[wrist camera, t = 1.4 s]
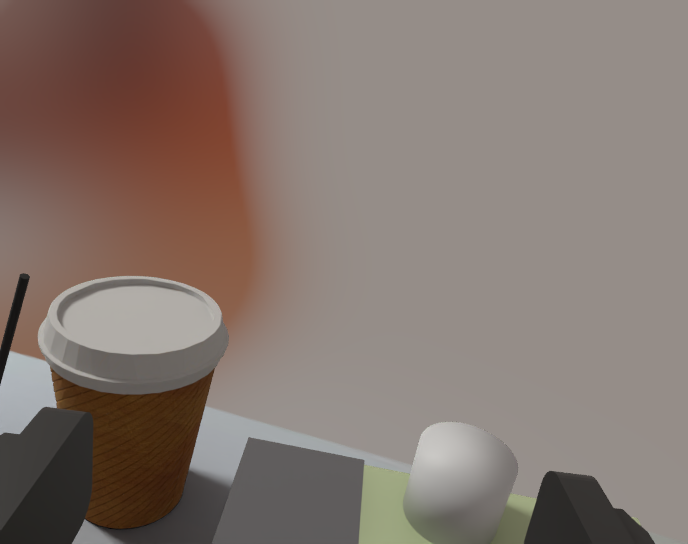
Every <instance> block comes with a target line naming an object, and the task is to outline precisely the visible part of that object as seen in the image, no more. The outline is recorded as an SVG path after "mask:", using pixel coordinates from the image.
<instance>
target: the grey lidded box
mask: <svg viewBox="0 0 688 544" xmlns="http://www.w3.org/2000/svg"><path fill="white" fill-rule="evenodd" d="M363 473H364V460H361V459H356V458H351V457H346V456H341V455H336V454H331V453H326V452H321V451H316V450H310V449H305V448H300V447H295V446H290V445H285V444H280V443H275V442H270V441H265V440H260V439H254V438H248V441H247V444H246V447H245V450H244V452H243V455H242V458H241V461H240V464H239V467H238V470H237V472H236V475H235V478H234V481H233V484H232V487H231V490H230V492H229V495H228V498H227V501H226V504H225V507H224V510H223V512H222V515H221V518H220V521H219V524H218V527H217V530H216V532H215V535H214V538H213V541H212V544H359V530H360V516H361V502H362V488H363Z"/></svg>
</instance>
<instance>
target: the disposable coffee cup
mask: <svg viewBox="0 0 688 544" xmlns="http://www.w3.org/2000/svg"><path fill="white" fill-rule="evenodd" d="M228 340H229V335H228V331H227V329H226V327H225V325H224V323H223V320H222V313H221V311H220V308H219V306H218V305H217V304H216V302H215V301H214V300H213V299H212V298H211V297H209V296H208V295H206V294H205V293H203V292H202V291H200V290H198V289H196V288H193V287H191V286H189V285H186V284H183V283H179V282H175V281H172V280H167V279H161V278H155V277H142V276H119V277H109V278H103V279H96V280H92V281H88V282H85V283H82V284H79V285H76V286H74V287H72V288H70V289H68V290H66V291H65V292H63V293H61V294H60V295H59V296H58V297H57V298H56V299H55V300H54V301H53V302H52V304H51V306H50V308H49V311H48V315H47V318H46V319H45V320H44V322H43V323H42V324H41V326H40V328H39V332H38V343H39V347H40V349H41V352H42V354H43V355H44V356H45V358H46V361H47V363H48V364H49V365H50V369H51V372H52V381H53V382H54V383H53V386H54V392H55V397H56V401H57V403H56V404H57V408H58V409H66V410H74V411H83V412H90V413H91V415H92V417H93V471H92V493H91V499H90V503H89V507H88V510H87V514H86V516H85V519H87V520H88V521H90V522H92V523H95V524H97V525H100V526H104V527H108V528H118V529H123V528H135V527H139V526H143V525H147V524H150V523H152V522H155V521H157V520H158V519H160V518H162V517H164V516H165V515H167V514H168V513H169V512H171V511H172V509H173V508H174V507H175V506H176V505H177V504H178V502H179V500H180V498H181V497H182V493H183V489H184V484H185V481H186V477H187V473H188V470H189V466H190V462H191V458H192V455H193V451H194V447H195V443H196V439H197V435H198V431H199V427H200V423H201V419H202V416H203V412H204V408H205V404H206V400H207V396H208V392H209V389H210V384H211V381H212V377H213V373H214V369H215V367H216V366H217V364H218V362H219V361H220V359H221V358H222V357H223V355H224V353H225V350H226V348H227V346H228Z"/></svg>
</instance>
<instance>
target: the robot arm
mask: <svg viewBox="0 0 688 544" xmlns="http://www.w3.org/2000/svg"><path fill="white" fill-rule="evenodd" d="M92 471H93V417H92V415H91V413H90V412H83V411H74V410H66V409H58V408H50V407H44V408H43V409H41V410H40V411H39V412H38V414H37V415H36V416H35V417H34V418H33V419H32V421H31V422H30V423H29V424H28V425H27V426H26V428H25V429H24V430H23V431H22V432H21V434H11V433H3V434H2V435H0V544H72V542H73V540H74V538H75V537H76V535H77V533H78V531H79V529H80V527H81V526H82V524H83V521H84V519H85V516H86V514H87V510H88V507H89V503H90V499H91V493H92ZM524 544H655V543H654V541H653V540H652V538H651V537H650V535H649V533H648V532H647V531H646V530H645V529H643V528H642V527H641V526H640V525H639V524H638V523H637V522H636V521H635V520H634V519H633V518H631V517H630V516H629V515H628V514H627V513H626V512H625V511H624V510H623V509H615V508H613V507H612V505H611V503H610V502H609V500H608V499H607V497H606V495H605V493H604V492H603V490H602V488H601V487H600V485H599V484H598V482H597V480H596V479H595V478H594V477H592V476H587V475H579V474H571V473H563V472H554V471H549V472H547V473H546V475H545V477H544V478H543V481H542V483H541V487H540V490H539V493H538V497H537V500H536V503H535V506H534V510H533V513H532V516H531V520H530V523H529V526H528V530H527V533H526V536H525V540H524Z"/></svg>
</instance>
